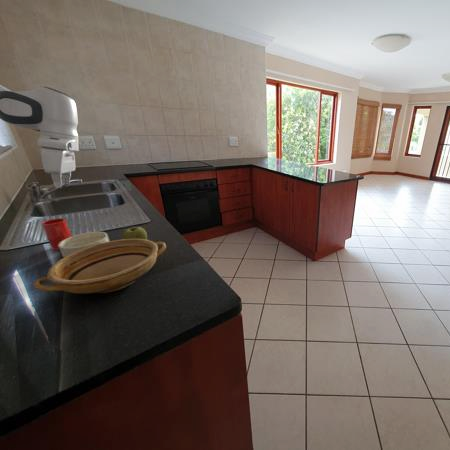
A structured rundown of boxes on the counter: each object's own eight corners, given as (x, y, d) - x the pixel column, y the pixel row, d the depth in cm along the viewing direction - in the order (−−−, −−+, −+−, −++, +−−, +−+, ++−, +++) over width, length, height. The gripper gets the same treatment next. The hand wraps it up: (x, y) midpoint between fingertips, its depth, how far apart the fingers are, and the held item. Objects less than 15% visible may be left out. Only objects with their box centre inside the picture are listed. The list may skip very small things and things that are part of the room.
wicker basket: (50, 333, 51) (35, 304, 48) (39, 287, 66) (27, 262, 63) (185, 274, 72) (181, 251, 69) (154, 249, 87) (149, 229, 83)
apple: (124, 253, 84) (118, 235, 81) (127, 244, 90) (122, 226, 87) (148, 248, 87) (144, 231, 84) (150, 240, 93) (145, 223, 91)
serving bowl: (53, 262, 77) (48, 250, 76) (75, 244, 89) (71, 233, 87) (101, 257, 81) (97, 245, 79) (116, 240, 93) (113, 230, 91)
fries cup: (48, 251, 84) (36, 225, 80) (59, 243, 90) (48, 219, 86) (69, 249, 86) (58, 223, 82) (78, 241, 91) (68, 217, 87)
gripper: (56, 142, 84) (58, 181, 87) (34, 139, 68) (38, 187, 70) (80, 146, 88) (81, 183, 90) (65, 144, 71) (67, 190, 74)
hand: (62, 185), depth 80 cm, fingers open, 8 cm apart
